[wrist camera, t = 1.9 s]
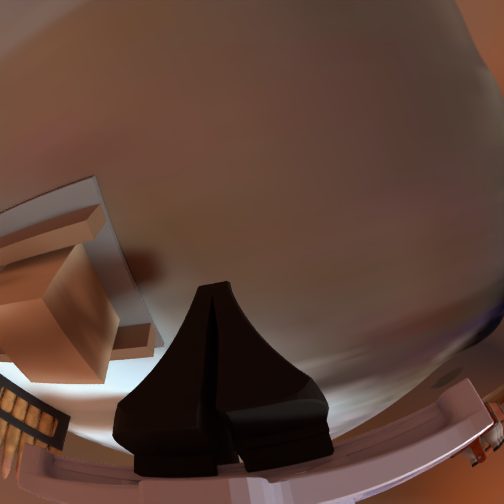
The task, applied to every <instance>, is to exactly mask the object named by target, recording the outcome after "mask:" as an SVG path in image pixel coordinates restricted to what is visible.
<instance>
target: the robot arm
mask: <svg viewBox="0 0 504 504" xmlns="http://www.w3.org/2000/svg"><path fill="white" fill-rule="evenodd" d="M328 411H329V406H328V403H327V400H326V398H325V397H324V395H323V393H322V392H321V390H320V389H319V387H318V386H317V385H316V383H315V382H314V381H313V379H312V378H311V377H309V376H308V375H306V374H305V373H303V372H302V371H300V370H299V369H297V368H296V367H295V366H293V365H292V364H291V363H289V362H288V361H287V360H286V359H284V358H283V357H282V356H281V355H280V354H279V353H278V352H277V351H275V350H274V349H273V348H272V347H271V346H270V345H269V344H268V343H267V342H266V341H265V340H264V339H263V338H262V336H261V335H260V334H259V333H258V332H257V331H256V329H255V328H254V327H253V326H252V324H251V323H250V322H249V320H248V319H247V317H246V316H245V314H244V313H243V311H242V310H241V308H240V306H239V305H238V303H237V301H236V299H235V297H234V295H233V292H232V289H231V285H230V282H228V281H224V282H219V283H213V284H208V285H202V286H199V287H198V288H197V291H196V294H195V297H194V299H193V302H192V304H191V307H190V309H189V311H188V313H187V315H186V317H185V320H184V322H183V324H182V326H181V327H180V329H179V331H178V333H177V335H176V337H175V338H174V340H173V342H172V343H171V345H170V346H169V348H168V349H167V351H166V352H165V354H164V355H163V357H162V358H161V359H160V361H159V362H158V363H157V365H156V366H155V367H154V368H153V370H152V371H151V372H150V373H149V374H148V375H147V376H146V377H145V379H144V380H143V381H142V382H141V383H140V384H139V385H138V386H137V387H136V388H135V389H134V390H133V391H132V392H130V393H129V394H128V395H127V396H126V397H125V398H124V399H122V400H121V401H120V402H119V403H118V405H117V409H116V412H115V418H114V425H113V434H112V436H113V438H114V440H115V441H116V442H117V443H118V444H119V445H121V446H122V447H124V448H125V449H126V450H128V451H129V452H131V453H132V454H134V466H122V465H112V464H103V463H95V462H89V461H82V460H77V459H71V458H66V457H61V456H57V455H54V454H53V453H51V452H50V451H48V450H47V449H45V448H42V447H40V446H36V445H32V444H29V443H24V448H23V453H22V458H21V463H20V469H19V476H18V483H17V486H18V487H19V488H21V489H23V490H25V491H27V492H30V493H32V494H34V495H36V496H38V497H40V498H43V499H46V500H48V501H50V502H53V503H55V504H355V502H357V501H360V500H362V499H365V498H368V497H370V496H373V495H375V494H377V493H380V492H383V491H385V490H387V489H390V488H391V487H394V486H396V485H398V484H401V483H403V482H405V481H407V480H409V479H411V478H413V477H415V476H417V475H418V474H420V473H422V472H424V471H426V470H428V469H430V468H431V467H433V466H435V465H437V464H438V463H440V462H442V461H444V460H445V459H447V458H448V457H450V456H452V455H453V454H455V453H456V452H458V451H460V450H461V449H463V448H464V447H466V446H467V445H468V444H470V443H471V442H472V441H473V440H475V439H476V438H477V437H478V436H480V435H481V434H482V433H483V432H484V431H486V430H487V429H488V428H489V427H490V426H491V425H493V420H492V418H491V416H490V414H489V413H488V411H487V409H486V407H485V406H484V404H483V402H482V400H481V399H480V397H479V395H478V394H477V392H476V390H475V389H474V387H473V385H472V384H471V382H470V380H469V379H464V380H463V381H461V382H460V383H458V384H456V385H454V386H452V387H451V388H449V389H447V390H446V391H445V392H444V393H443V394H442V395H441V396H440V397H439V399H438V401H437V402H435V403H433V404H431V405H429V406H427V407H425V408H423V409H421V410H419V411H417V412H415V413H413V414H410V415H408V416H406V417H404V418H402V419H399V420H397V421H395V422H393V423H390V424H387V425H385V426H382V427H380V428H377V429H375V430H372V431H369V432H367V433H364V434H361V435H358V436H355V437H352V438H349V439H347V440H343V441H340V442H336V443H333V444H332V441H331V438H330V435H329V427H328V424H327V416H328ZM238 455H239V456H240V458H241V459H242V460H243V462H244V463H240V461H239V456H238ZM304 471H307V472H305V473H300V472H304ZM296 473H299V474H296ZM291 474H293V475H291Z"/></svg>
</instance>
